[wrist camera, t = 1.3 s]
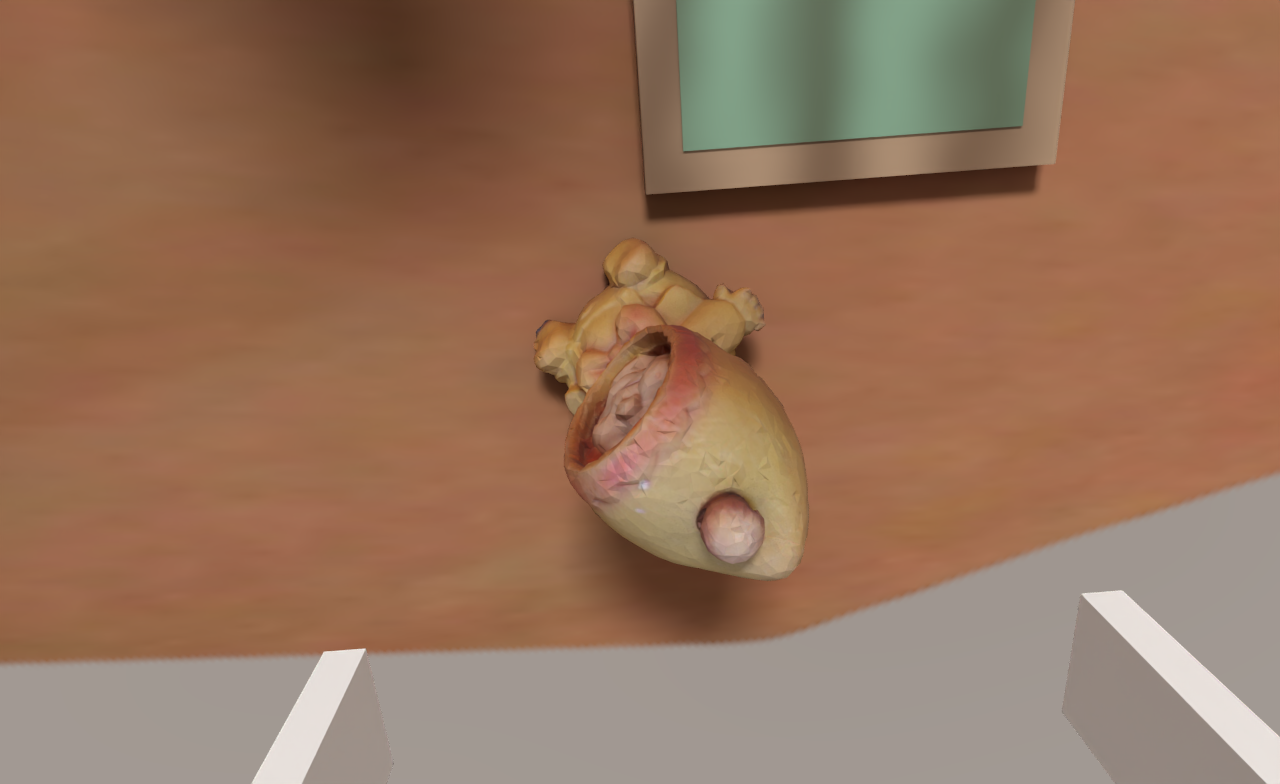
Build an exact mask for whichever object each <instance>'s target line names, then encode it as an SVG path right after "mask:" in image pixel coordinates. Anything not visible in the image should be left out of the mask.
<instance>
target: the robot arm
mask: <svg viewBox="0 0 1280 784" xmlns="http://www.w3.org/2000/svg"><path fill="white" fill-rule="evenodd" d="M1062 713H1063V714H1064V716H1065V717H1066V718H1067V720H1068V721H1069V722H1070V724H1071V725H1072V726H1073V728H1074V729H1075V730H1076V732H1077V733H1078V734H1079V736H1080V737H1081V738H1082V740H1083V741H1084V742H1085V744H1086V745H1087V746H1088V747H1089V749H1090V750H1091V752H1092V753H1093V754H1094V756H1095V757H1096V758H1097V760H1098V761H1099V762H1100V763H1101V765H1102V766H1103V768H1104V769H1105V770H1106V771H1107V773H1108V774H1109V776H1110V777H1111V778H1112V780H1113V781H1114V782H1115V784H1280V737H1279V736H1278V735H1277V734H1276V733H1275V732H1274V731H1273V730H1272V729H1271V728H1269V727H1268V726H1267V725H1266V724H1265V723H1264V722H1263V721H1262V720H1261V719H1260V718H1259V717H1258V716H1256V715H1255V714H1254V713H1253V712H1252V711H1251V710H1250V709H1249V708H1248V707H1247V706H1246V705H1245V704H1244V703H1243V702H1242V701H1240V700H1239V699H1238V698H1237V697H1236V696H1235V695H1234V694H1233V693H1232V692H1231V691H1230V690H1228V689H1227V688H1226V687H1225V686H1224V685H1223V684H1222V683H1221V682H1220V681H1219V680H1218V679H1217V678H1216V677H1215V676H1214V675H1212V674H1211V673H1210V672H1209V671H1208V670H1207V669H1206V668H1205V667H1204V666H1203V665H1202V664H1201V663H1200V662H1199V661H1197V660H1196V659H1195V658H1194V657H1193V656H1192V655H1191V654H1190V653H1189V652H1188V651H1187V650H1186V649H1185V648H1183V647H1182V646H1181V645H1180V644H1179V643H1178V642H1177V641H1176V640H1175V639H1174V638H1173V637H1172V636H1170V635H1169V633H1167V632H1166V631H1165V630H1164V629H1163V628H1162V627H1161V626H1160V625H1159V624H1158V623H1157V622H1156V621H1154V620H1153V619H1152V618H1151V617H1150V616H1149V615H1148V614H1147V613H1146V612H1145V611H1144V610H1142V608H1140V607H1139V606H1138V605H1137V604H1136V603H1135V602H1134V601H1133V600H1132V599H1131V598H1130V597H1129V596H1128V595H1126V593H1124V592H1123V591H1109V592H1096V593H1083V594H1081V596H1080V601H1079V608H1078V614H1077V620H1076V626H1075V632H1074V638H1073V645H1072V651H1071V657H1070V663H1069V670H1068V676H1067V682H1066V688H1065V695H1064V701H1063V707H1062ZM393 764H394V763H393V759H392V754H391V750H390V746H389V742H388V738H387V734H386V730H385V725H384V721H383V717H382V713H381V709H380V705H379V701H378V696H377V692H376V688H375V684H374V680H373V676H372V672H371V668H370V663H369V659H368V655H367V651H366V649H354V650H341V651H328V652H324V653H323V655H322V656H321V658H320V660H319V662H318V664H317V666H316V667H315V669H314V671H313V673H312V675H311V677H310V678H309V680H308V682H307V684H306V686H305V687H304V689H303V691H302V693H301V695H300V696H299V698H298V700H297V702H296V704H295V705H294V707H293V709H292V711H291V713H290V715H289V716H288V718H287V720H286V722H285V724H284V725H283V727H282V729H281V731H280V733H279V734H278V737H277V738H276V740H275V742H274V744H273V746H272V747H271V749H270V751H269V753H268V755H267V756H266V758H265V760H264V762H263V764H262V766H261V767H260V769H259V771H258V773H257V774H256V776H255V778H254V780H253V782H252V784H387V782H388V779H389V776H390V773H391V770H392V767H393Z"/></svg>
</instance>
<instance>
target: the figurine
mask: <svg viewBox="0 0 1280 784" xmlns="http://www.w3.org/2000/svg"><path fill="white" fill-rule="evenodd" d="M602 265H603V269H604V273H605V274H606V276H607V277H608V280H609V283H610V285H609V286H608V287H607V288H606V289H604V291H603V292H602V293H601V294H599V295H597V296H596V297H594V298H593V299H591V300H590V301H589V302H588V303H587V305H586V306H585V307H584V308H583V310H582V312H581V313H580V315H579V317H578V319H577V322H576V323H562V322H558V321H552V320H547V321H545V322H544V324H543V325H542V326H541V327H540V328H539V329H538V330H537V331H536V340H535V342H534V349H535V351H536V354H535V356H534V362H535V365H536V367H537V368H538V369H540V370H541V371H543V372H546V373H550V374H553V375H555V378H556V380H557V381H558V382H561V383H567V386H568V388H569V389H568V391H567V392H566V394H565V402H566V404H567V406H568V408H569V410H570V411H571V413H572V414H573V415H574V417H573V420H572V422H571V424H570V426H569V430H568V433H567V437H566V440H565V453H564V468H565V471H566V474H567V477H568V479H569V481H570V483H571V485H572V486H573V488H574V489H575V490H576V492H577V493H578V494H579V495H580V496H581V497H582V499H583V500H585V501H586V502H587V503H588V504H589V505H590V506H591V508H592V509H593V511H594V512H595V513H596V514H597V515H598V516H599V517H600V518H601V519H602V520H603V521H604V522H605V523H607V524H608V525H609V526H610V527H611V528H612V529H613V530H615V531H616V532H617V533H619V534H620V535H621V536H623V537H624V538H626V539H627V540H629V541H630V542H632V543H634V544H635V545H637V546H639V547H641V548H642V549H644V550H646V551H648V552H649V553H651V554H653V555H655V556H657V557H659V558H662V559H665V560H667V561H670V562H673V563H675V564H680V565H684V566H689V567H695V568H701V569H704V570H709V571H714V572H719V573H723V574H728V575H733V576H738V577H742V578H748V579H756V580H765V581H771V580H778V579H782V578H787V577H788V576H789V575H790V574H791V573H792V572H793V570H794V569H795V568H796V567H797V566H798V565H799V564H800V562H801V559H802V556H803V553H804V545H805V541H806V538H807V534H808V522H809V504H808V487H807V477H806V469H805V463H804V457H803V453H802V449H801V446H800V443H799V440H798V438H797V435H796V433H795V430H794V428H793V426H792V424H791V422H790V420H789V418H788V417H787V415H786V413H785V410H784V407H783V405H782V404H781V402H780V401H779V400H778V398H777V397H776V396H775V395H774V393H773V392H772V391H771V390H770V388H769V387H768V386H767V384H766V383H765V382H764V381H763V379H762V378H760V377H759V376H757V375H756V374H755V373H754V371H753V369H752V368H751V366H750V365H749V364H748V363H746V362H745V361H744V360H742V359H741V358H740V357H736V356H735V348H736V347H737V346H738V345H739V344H740V343H741V341H742V339H743V336H745V335H748V334H750V333H751V332H752V331H753V330H756V331H759V330H760V329H762V328H763V327H764V326H765V325H766V324H765V322H764V309H763V307H762V305H761V304H760V302H759V300H758V298H757V296H756V295H753V294H752V292H751V289H749V288H748V287H747V288H740V289H738V290H736V291H734V292H733V291H731V290H729V289H728V288H727V287H726V286H725V285H724V284H720V285H718V286H717V288H716V290H715V292H714V296H713V299H709V298H708V297H707V296H706V295H705V294H704V293H703V292H702V290H701V289H700V288H699V287H698V286H697V285H695V284H694V283H692V282H691V281H689V280H687V279H686V278H684V277H682V276H681V275H679V274H677V273H675V272H673V271H671V270H669V267H668V263H667V260H665V259H664V258H663V257H662V256H660V255H658V254H656V253H655V252H654V250H653V249H652V248H651V247H650V246H649V245H648V244H647V243H646V242H643V241H641V240H639V239H636V238H630V239H627V240H624V241H622V242H621V243H620V244H618V245H617V246H616V247H615V248H614V249H613V250H612V251H611V252H610V253H609V255H608V256H607V257H606V258H605V260H604V262H603V264H602Z"/></svg>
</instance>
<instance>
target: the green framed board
mask: <svg viewBox="0 0 1280 784" xmlns="http://www.w3.org/2000/svg"><path fill="white" fill-rule="evenodd" d="M1074 4H1075V0H633V14H634V29H635V45H636V60H637V75H638V91H639V106H640V121H641V137H642V152H643V167H644V183H645V193H646V195H648V194H661V193H674V192H688V191H701V190H714V189H728V188H741V187H754V186H767V185H781V184H794V183H807V182H821V181H834V180H847V179H860V178H874V177H887V176H900V175H913V174H927V173H940V172H953V171H967V170H980V169H993V168H1006V167H1020V166H1033V165H1046V164H1055V162H1056V154H1057V146H1058V137H1059V129H1060V121H1061V112H1062V104H1063V96H1064V87H1065V79H1066V71H1067V62H1068V54H1069V46H1070V38H1071V29H1072V21H1073V13H1074Z"/></svg>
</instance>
